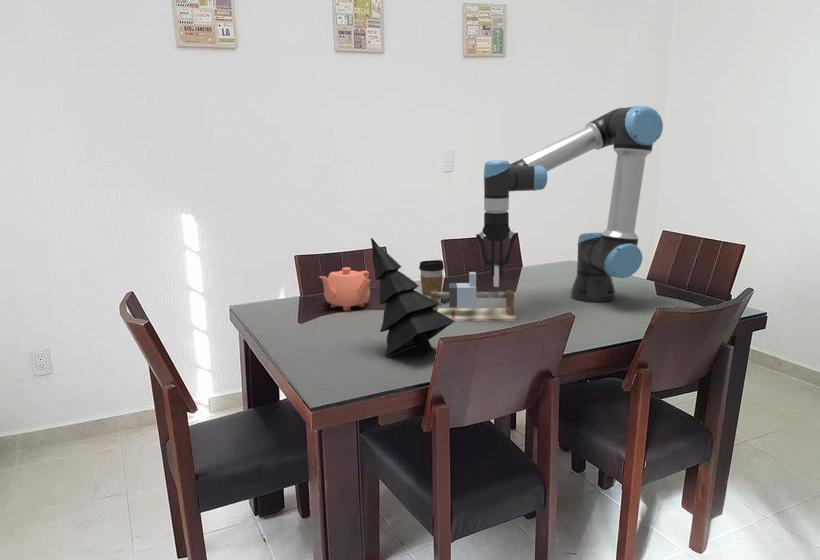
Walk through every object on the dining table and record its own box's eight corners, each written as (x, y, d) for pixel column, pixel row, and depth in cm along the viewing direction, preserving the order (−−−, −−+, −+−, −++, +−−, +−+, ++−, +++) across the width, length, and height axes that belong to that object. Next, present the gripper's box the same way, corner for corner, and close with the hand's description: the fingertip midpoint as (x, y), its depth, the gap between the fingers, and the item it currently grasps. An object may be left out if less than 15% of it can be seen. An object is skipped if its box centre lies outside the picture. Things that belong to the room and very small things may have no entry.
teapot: (371, 311, 208) (370, 271, 205) (320, 313, 206) (318, 274, 203) (370, 299, 223) (368, 262, 220) (322, 301, 222) (320, 264, 219)
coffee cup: (442, 307, 212) (441, 263, 208) (417, 306, 213) (416, 263, 210) (445, 301, 220) (445, 259, 216) (422, 300, 221) (421, 258, 218)
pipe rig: (512, 311, 205) (512, 287, 204) (516, 321, 194) (517, 296, 192) (430, 311, 207) (429, 287, 205) (429, 321, 195) (429, 296, 193)
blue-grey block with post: (475, 302, 202) (475, 270, 200) (476, 307, 196) (476, 275, 194) (456, 302, 203) (456, 270, 200) (457, 307, 196) (457, 275, 194)
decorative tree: (428, 356, 173) (376, 247, 181) (462, 335, 163) (405, 221, 171) (391, 371, 163) (336, 254, 171) (424, 349, 153) (365, 227, 160)
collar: (456, 302, 203) (456, 283, 201) (457, 307, 196) (457, 287, 195) (449, 302, 203) (449, 283, 201) (449, 307, 197) (449, 287, 195)
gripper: (516, 209, 196) (515, 282, 201) (474, 210, 197) (474, 283, 202) (519, 212, 189) (518, 288, 194) (475, 213, 189) (476, 289, 194)
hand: (496, 285), depth 198 cm, fingers closed
